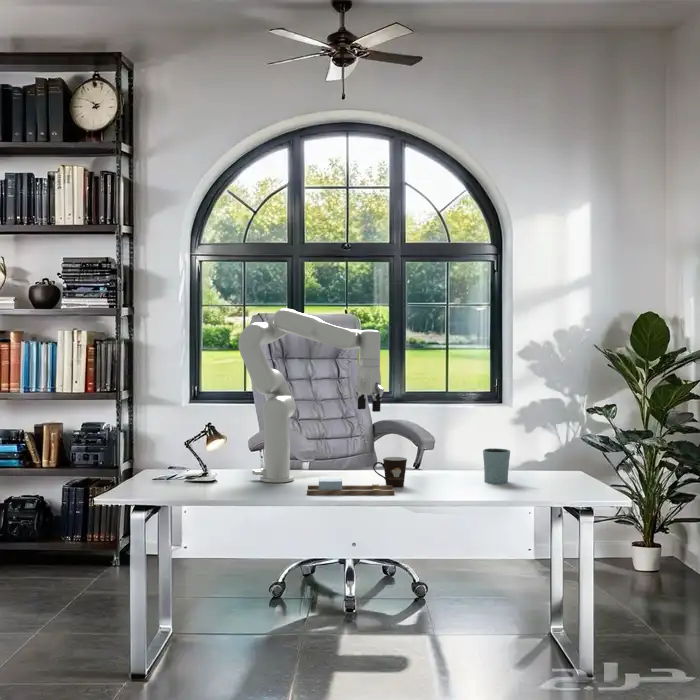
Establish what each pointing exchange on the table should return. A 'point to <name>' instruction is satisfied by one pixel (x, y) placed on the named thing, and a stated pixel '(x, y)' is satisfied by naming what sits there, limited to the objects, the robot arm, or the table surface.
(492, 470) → the green tapered cup
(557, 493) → the table surface
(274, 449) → the robot arm
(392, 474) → the coffee mug
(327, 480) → the block
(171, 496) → the table surface
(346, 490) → the wooden rail frame
